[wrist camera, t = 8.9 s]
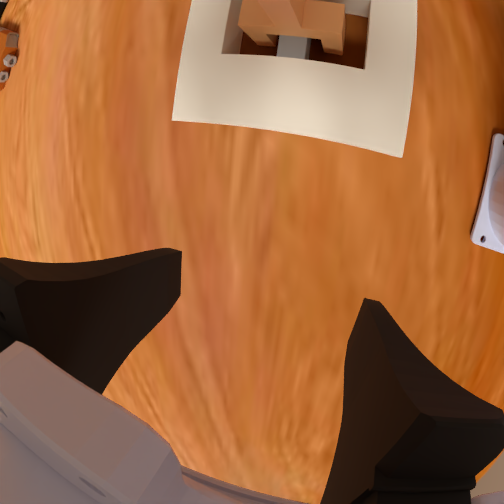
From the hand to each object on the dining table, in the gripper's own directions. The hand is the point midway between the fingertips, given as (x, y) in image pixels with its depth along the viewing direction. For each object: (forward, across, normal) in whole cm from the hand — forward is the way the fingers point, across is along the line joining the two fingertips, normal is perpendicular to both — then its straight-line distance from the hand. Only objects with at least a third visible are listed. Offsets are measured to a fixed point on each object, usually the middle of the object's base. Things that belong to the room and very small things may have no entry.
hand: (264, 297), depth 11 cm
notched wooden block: (+10, +2, -13) cm, 17 cm away
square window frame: (+10, +2, -13) cm, 17 cm away
